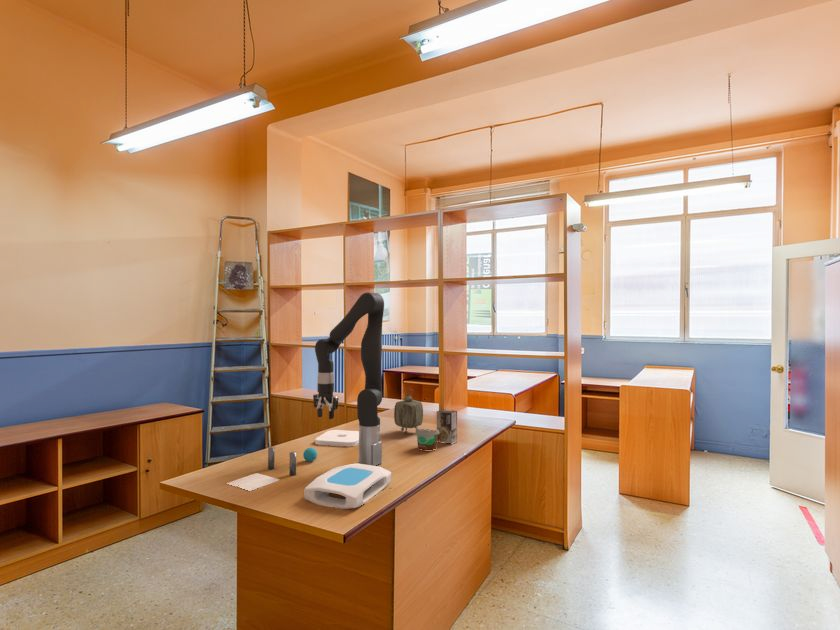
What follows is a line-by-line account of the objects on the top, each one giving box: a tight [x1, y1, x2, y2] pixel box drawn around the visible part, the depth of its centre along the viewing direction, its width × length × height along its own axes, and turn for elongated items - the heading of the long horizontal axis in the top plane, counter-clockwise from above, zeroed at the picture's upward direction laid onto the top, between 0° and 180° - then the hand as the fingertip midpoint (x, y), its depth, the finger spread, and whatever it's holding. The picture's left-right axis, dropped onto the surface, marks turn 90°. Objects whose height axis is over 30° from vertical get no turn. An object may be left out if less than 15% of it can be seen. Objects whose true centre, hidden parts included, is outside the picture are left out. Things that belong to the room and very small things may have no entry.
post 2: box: [288, 451, 297, 477], centre depth 184 cm, size 3×3×9 cm
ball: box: [302, 447, 318, 463], centre depth 201 cm, size 6×6×6 cm
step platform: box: [303, 462, 392, 510], centre depth 166 cm, size 21×28×6 cm
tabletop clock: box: [393, 387, 424, 435], centre depth 251 cm, size 14×9×25 cm, turn 58°
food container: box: [415, 427, 440, 450], centre depth 219 cm, size 12×6×10 cm, turn 68°
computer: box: [314, 429, 359, 448], centre depth 236 cm, size 22×22×3 cm
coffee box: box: [436, 408, 458, 443], centre depth 233 cm, size 9×6×16 cm
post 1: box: [267, 446, 276, 471], centre depth 191 cm, size 3×3×9 cm
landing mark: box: [225, 472, 280, 492], centre depth 175 cm, size 14×14×1 cm
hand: (325, 417), depth 209 cm, fingers open, 6 cm apart
